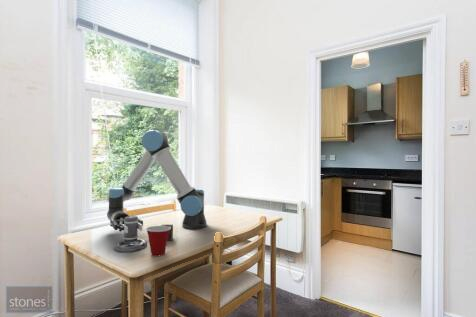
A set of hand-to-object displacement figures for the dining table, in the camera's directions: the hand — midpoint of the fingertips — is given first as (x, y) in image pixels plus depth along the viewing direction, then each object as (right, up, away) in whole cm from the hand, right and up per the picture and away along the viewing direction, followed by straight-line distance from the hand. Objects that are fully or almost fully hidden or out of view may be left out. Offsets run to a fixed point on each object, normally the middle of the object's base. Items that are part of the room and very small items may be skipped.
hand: (134, 228), depth 121 cm
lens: (-3, -6, +4) cm, 8 cm away
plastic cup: (+13, -10, -4) cm, 17 cm away
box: (+11, -10, +15) cm, 21 cm away
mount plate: (-3, -10, +4) cm, 11 cm away
